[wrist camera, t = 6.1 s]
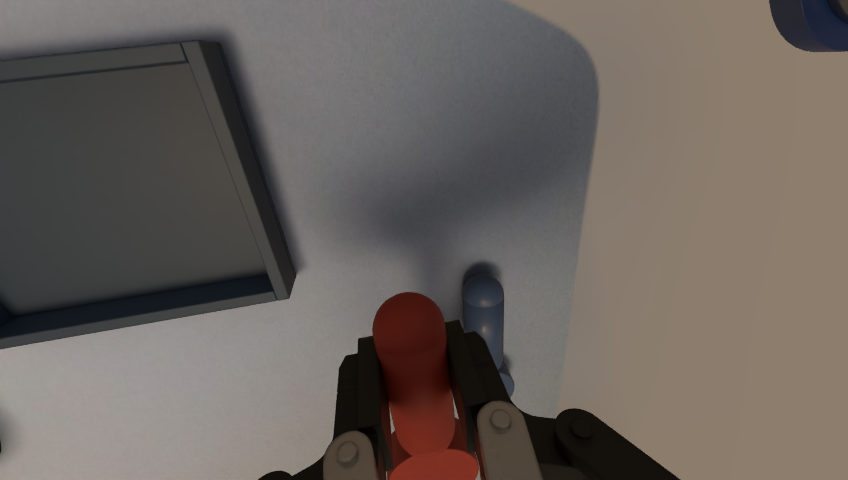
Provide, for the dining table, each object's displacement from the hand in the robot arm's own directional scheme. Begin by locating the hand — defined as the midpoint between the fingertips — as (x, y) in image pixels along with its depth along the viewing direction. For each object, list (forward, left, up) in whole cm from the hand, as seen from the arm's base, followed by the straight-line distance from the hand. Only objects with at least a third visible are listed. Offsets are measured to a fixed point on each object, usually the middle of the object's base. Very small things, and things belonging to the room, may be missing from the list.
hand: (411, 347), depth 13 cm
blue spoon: (-5, +8, -7) cm, 12 cm away
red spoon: (0, +3, 0) cm, 3 cm away
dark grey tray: (+13, -5, -7) cm, 15 cm away
